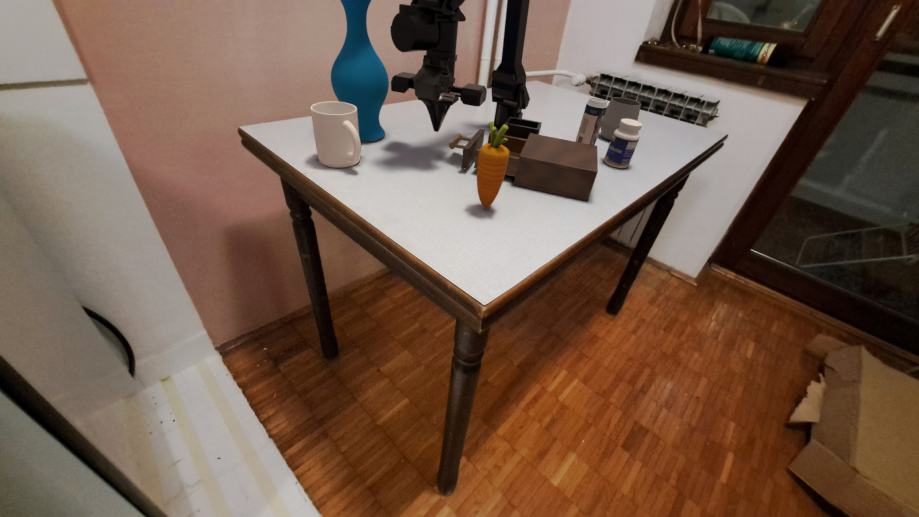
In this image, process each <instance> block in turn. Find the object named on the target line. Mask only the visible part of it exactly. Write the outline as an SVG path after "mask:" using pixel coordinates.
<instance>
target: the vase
mask: <svg viewBox="0 0 919 517" xmlns="http://www.w3.org/2000/svg"><path fill="white" fill-rule="evenodd" d="M339 1H340V3H341V5H342V7H343V10H344V13H345V20H346V21H345V22H346V32H345V39H344V42H343V44H342V47H341V49H340V51H339V52H338V55H337V56H336V58H335V59H334V61H333V64H332V67H331V71H330V83H331V87H332V91H333V93H334V95H335V97H336V99H337V100H338V102H345V103H349V104H352V105H354V106H356V107H357V114H358V128H359V138H360V142H362V143H363V142H365V143H366V142H375V141H379V140H381V139H382V138H384V137H385V135H386V132H385V129H384V128H383V126H382V125H381V123H380V114H381V110H382V107H383V105H384V104H385V101H386V98H387V96H388V93H389V88H390V80H389V74H388V71H387V69H386V67H385V65H384V63H383V61H382V60H381V58H380V57H379V55H378V54H377V52H376V50H375V48H374V46H373V44H372V42H371V39H370V36H369V33H368V32H369V31H368V25H367V20H368V18H367V17H368V16H367V15H368V10H369V6H370V5H371V2H372V0H339Z"/></svg>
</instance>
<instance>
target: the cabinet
mask: <svg viewBox="0 0 919 517" xmlns="http://www.w3.org/2000/svg"><path fill="white" fill-rule="evenodd" d="M598 164H599V163H598V145H596V144H595V145H590V144H585V143H579V142H575V141H574V140H569V139H564V138H559V137H553V136H549V135H548V136H547V135H543V134H539V135H538V134H533V133H530V134H529V136H528V138H527V141H526V143H525V145H524V147H523V149H522V151H521V154H520V156H519V160H518V165H517V170H516V175H515V177H514V180H513V186H516V187H521V188H526V189H531V190H534V191H540V192H543V193H548V194H554V195H557V196H563V197H567V198H572V199H574V200H576V199H577V200H580V201H585V202H588V201H589V197H590V196H591V192H592V189H593V186H594V183H595V181H596V178H597V175H598V173H599V170H598V169H599V167H598V166H599V165H598Z"/></svg>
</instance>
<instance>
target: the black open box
mask: <svg viewBox="0 0 919 517" xmlns="http://www.w3.org/2000/svg"><path fill="white" fill-rule="evenodd" d="M542 123H543V121H536V120H530V119H525V118H522V119H521V118H515V117H509V118H508V119H507V121H506V122H505V125H507V126H508V129H507V131H506V132H505V134H504V135H507V136H512V137H517V138H522V139H527V138H528V136H529V134H530V133H533V134H538V135H540V133H541V128H542Z"/></svg>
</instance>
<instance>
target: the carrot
mask: <svg viewBox="0 0 919 517" xmlns="http://www.w3.org/2000/svg"><path fill="white" fill-rule="evenodd" d="M488 124H489V132H491V134H490V135H491V143H488V142H486V143H484V144H483V146H482V148H481V149H480V151H479V157H478V167H477V168H476V188H477V194H478V198H479V202H480V204H481V206H482V208H483V209H485V210H487V209H489V208H490V206H492V204H493V203H494V201H495V199H497V196H498V195H499V192H500V190H501V187H502V185H503V182H504V180H505V177H506V175H505V173H506V169H507V164H508V160H509V154H510V153H509V150H508V148H506V147H505V146H503V145H502V144H503V143H504V142H506V141H507V140H508V139H507V138H503V139H502V140H501V137H502V136H503V135H504V134H505V132H506V131H507V129H508V126H507V125H504V124H503V126H502V127H501V129H500V130H499V129H498V132H497V129H496V127H494V120H492V121H489V122H488ZM496 132H497V133H496ZM495 133H496V134H497V135H496V138H495Z"/></svg>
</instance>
